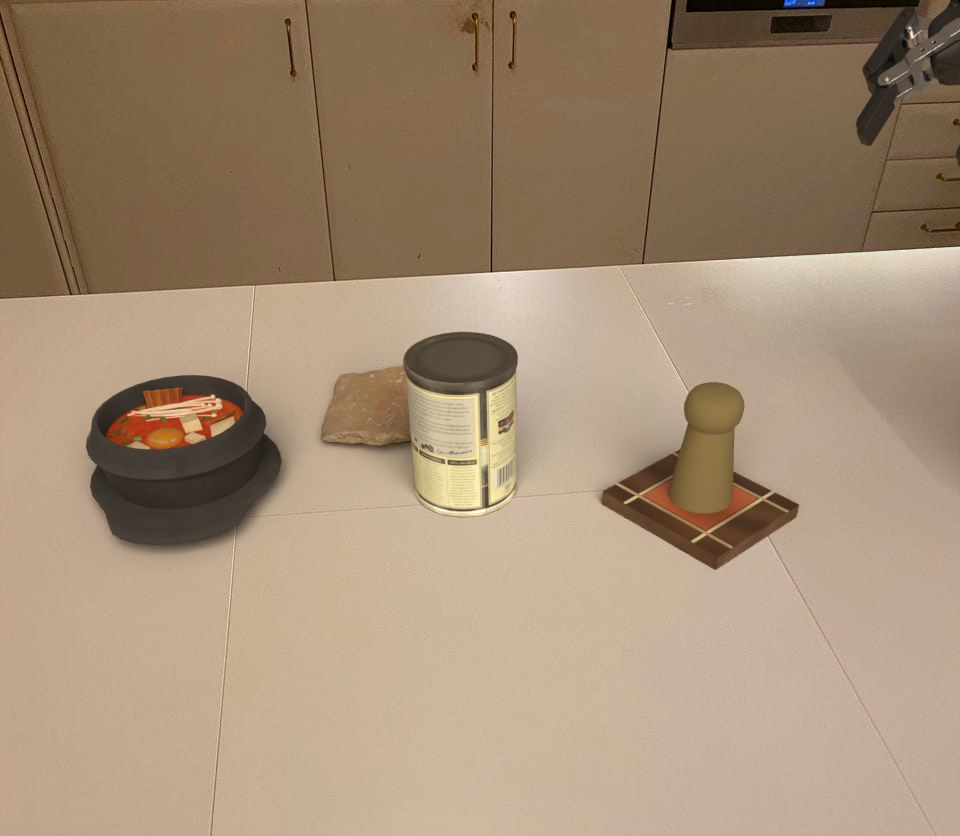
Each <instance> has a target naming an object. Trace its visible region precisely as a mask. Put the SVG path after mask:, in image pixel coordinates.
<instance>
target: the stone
mask: <svg viewBox="0 0 960 836" xmlns="http://www.w3.org/2000/svg"><path fill="white" fill-rule="evenodd" d="M320 440H322V441H324V442H326V443H339V444H351V445H353V444H361V443H362V444H365V445H369V446H378V447H379V446H385V445H390V444H395V443H396V444H397V443H403V442H404V443H405V442H411V432H410V420H409V407H408V395H407V383H406V372H405V369H404V364H403V365H397V366H390V367H387V368H384V369H375V370H369V371H365V372H360V373H356V372H349V373H344V374H341V375H339V376H338V378H337V379H336V381H335V383H334V389H333V396H332V398H331V401H330V403H329V405H328V408H327V409H326V413H325V416H324V420H323V423H322V426H321V434H320Z"/></svg>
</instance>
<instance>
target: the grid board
mask: <svg viewBox="0 0 960 836" xmlns="http://www.w3.org/2000/svg"><path fill="white" fill-rule="evenodd" d="M680 449H681V448H679V449H678V450H675V451H671V452H670V454H668V455H666V456H665V457H663V458H661V459H659V460H657V461H655V462H654V463H651V464H650V465H648V466H645V468H642V469H641V470H638V471H637V472H635V473H633V474H632V475H629V476H628V477H626V478H624V479H622V480H621V481H618V482H615V483H614V484H613V485H611V486H610V487H607V488H605V489H604V490H602V495H601V505H603V506H604V507H606V508H608V509H609V510H611V511H613V512H615V513H616V514H619V515H620V516H622V517H623V518H625V519H627V520H628V521H630V522H632V523H634V524H636V525H637V526H639V527H641V528H642V529H644V530H646V531H648V532H649V533H651V534H653V535H654V536H657V537H658V538H659V539H662V540H663V541H665V542H666V543H668V544H670V545H671V546H674V547H675V548H676V549H678V550H680V551H682V552H684V553H686V554H688V555H689V556H690V557H692V558H694V559H696V560H697V561H699V562H701V563H703V564H704V565H706V566H708V567H709V568H711V569H713V570H715V571H716V570H719V569H720V568H721V567H722V566H724V565H726V564H727V563H728V562H730V561H732V560H733V559H735V558H736V557H738V556H739V555H741V554H742V553H744V552H745V551H747V550H748V549H750V548H752V547H753V546H755V545H756V544H757V543H759V542H761V541H763V540H764V539H765V538H767V537H769V536H770V535H771V534H773V533H774V532H776V531H778V530H779V529H781V528H782V527H784V526H785V525H787V524H788V523H790V522H792V521H793V520H794V519H796V518H797V516H798V512H799V508H800V504H799V503H797V502H795V501H793V500H791V499H789V498H787V497H785V496H783V495H782V494H779V493H777V492H776V490H774V489H769V488H767V487H766V486H763V485H762V484H759V483H758V482H755V481H754V480H751V479H749V478H748V477H745V476H743V475H742V474H739V473H737V472H736V471H734V470H733V498H732V502H731V504H730V505H729V506H728V507H727V508H726V509H723V510H721V511H719V512H714V513H695V512H689V511H687V510H684V509H681V508H679V507H678V506H676V505H675V504H673V502H672V501H671V500H670V499H669V495H668V490H669V487H670V484H671V480H672V477H673V473H674V470H675V466H676V463H677V459H678V456H679V453H680Z"/></svg>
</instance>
